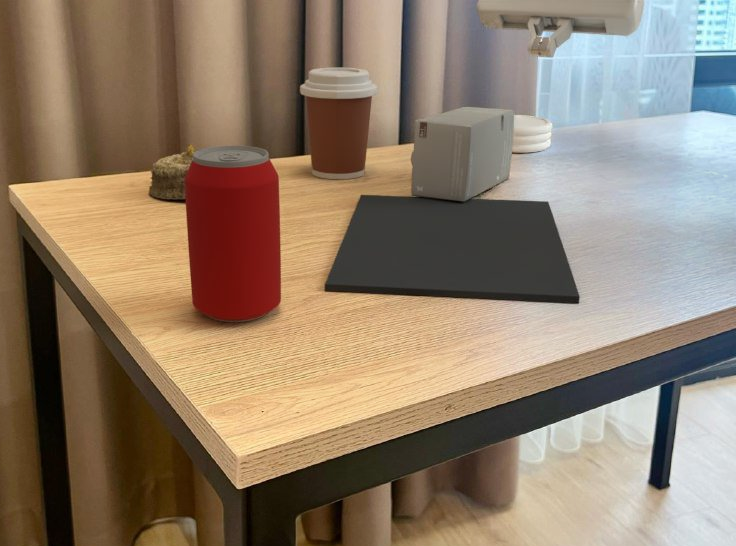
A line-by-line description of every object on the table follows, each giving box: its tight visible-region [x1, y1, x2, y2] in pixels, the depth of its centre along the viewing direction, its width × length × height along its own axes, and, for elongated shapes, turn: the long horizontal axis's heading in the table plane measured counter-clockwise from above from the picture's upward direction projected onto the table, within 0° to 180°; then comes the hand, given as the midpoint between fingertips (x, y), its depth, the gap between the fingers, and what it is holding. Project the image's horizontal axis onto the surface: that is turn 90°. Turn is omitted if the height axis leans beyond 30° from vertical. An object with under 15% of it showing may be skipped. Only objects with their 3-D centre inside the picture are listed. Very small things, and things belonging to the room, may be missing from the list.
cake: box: [148, 144, 196, 201], centre depth 100 cm, size 10×10×5 cm
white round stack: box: [512, 114, 554, 154], centre depth 123 cm, size 10×10×4 cm
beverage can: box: [185, 145, 282, 323], centre depth 66 cm, size 7×7×12 cm
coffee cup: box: [299, 67, 379, 180], centre depth 107 cm, size 9×9×12 cm
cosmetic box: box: [410, 106, 515, 202], centre depth 100 cm, size 8×7×16 cm
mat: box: [324, 194, 581, 304], centre depth 84 cm, size 20×28×1 cm
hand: (539, 53), depth 109 cm, fingers closed
